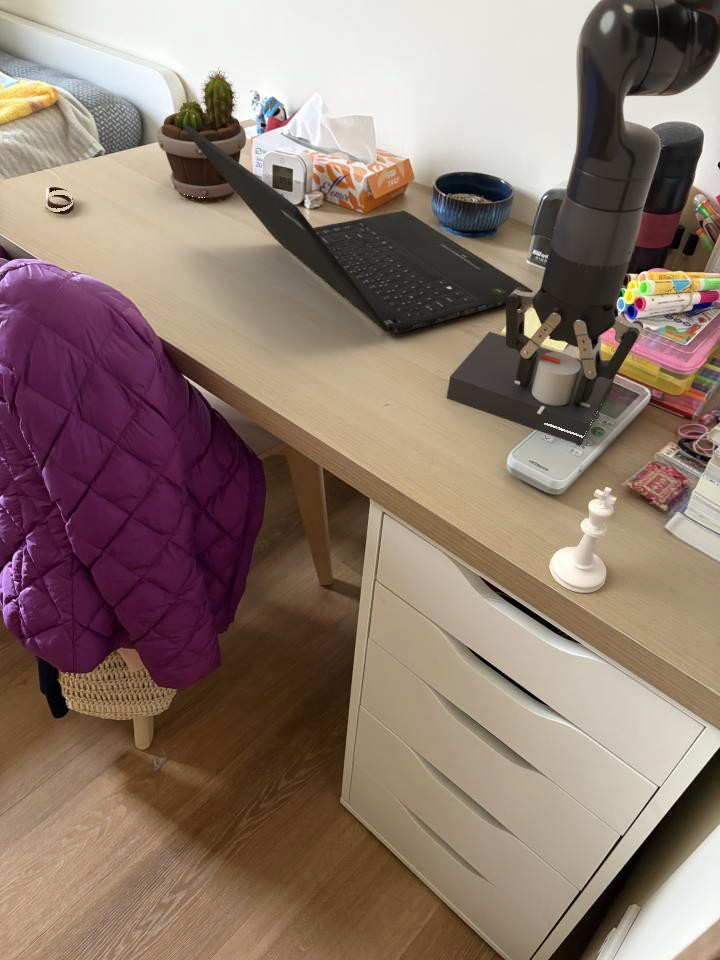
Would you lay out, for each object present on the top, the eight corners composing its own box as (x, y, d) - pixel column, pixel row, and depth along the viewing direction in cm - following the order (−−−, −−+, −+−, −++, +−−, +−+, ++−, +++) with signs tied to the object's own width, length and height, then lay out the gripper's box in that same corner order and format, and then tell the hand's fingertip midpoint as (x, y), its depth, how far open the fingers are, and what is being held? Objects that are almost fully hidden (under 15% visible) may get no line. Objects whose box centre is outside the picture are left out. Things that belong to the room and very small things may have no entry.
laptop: (533, 303, 101) (565, 160, 88) (295, 369, 86) (293, 208, 73) (404, 218, 122) (415, 92, 109) (195, 259, 107) (179, 118, 94)
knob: (576, 390, 80) (586, 357, 77) (564, 410, 77) (574, 376, 74) (539, 378, 81) (547, 345, 78) (525, 397, 78) (534, 364, 75)
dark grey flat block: (609, 391, 85) (617, 369, 83) (577, 451, 76) (584, 428, 74) (485, 352, 91) (489, 330, 89) (441, 403, 82) (445, 380, 80)
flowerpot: (157, 207, 121) (138, 74, 107) (174, 175, 132) (158, 52, 119) (243, 211, 121) (235, 79, 108) (253, 179, 132) (246, 56, 119)
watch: (45, 201, 120) (40, 179, 118) (75, 199, 122) (70, 177, 119) (45, 219, 115) (39, 196, 113) (76, 216, 116) (71, 194, 114)
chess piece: (562, 543, 66) (590, 461, 60) (613, 567, 64) (648, 485, 57) (540, 575, 63) (566, 492, 56) (592, 602, 61) (626, 519, 54)
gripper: (506, 240, 68) (478, 388, 79) (660, 280, 63) (606, 432, 74) (532, 215, 73) (503, 357, 84) (677, 250, 68) (624, 397, 79)
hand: (551, 392), depth 79 cm, fingers open, 5 cm apart
